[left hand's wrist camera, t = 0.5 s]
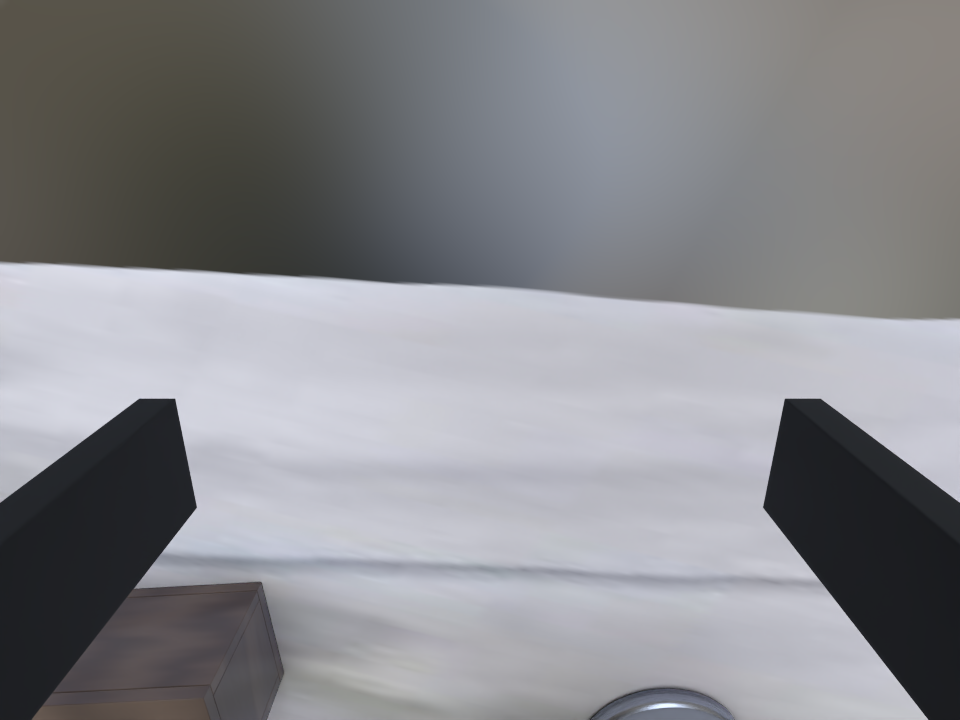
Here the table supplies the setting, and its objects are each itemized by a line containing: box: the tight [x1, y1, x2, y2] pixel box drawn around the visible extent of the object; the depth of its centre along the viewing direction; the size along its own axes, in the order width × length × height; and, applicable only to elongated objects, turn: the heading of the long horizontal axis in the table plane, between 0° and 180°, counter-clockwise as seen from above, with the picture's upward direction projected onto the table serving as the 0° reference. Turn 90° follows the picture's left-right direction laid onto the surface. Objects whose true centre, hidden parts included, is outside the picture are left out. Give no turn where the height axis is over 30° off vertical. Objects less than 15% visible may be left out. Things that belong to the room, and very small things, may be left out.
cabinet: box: [32, 582, 284, 720], centre depth 45 cm, size 20×10×11 cm, turn 94°
